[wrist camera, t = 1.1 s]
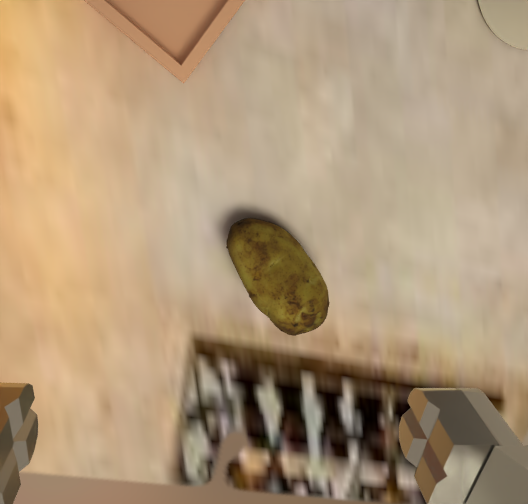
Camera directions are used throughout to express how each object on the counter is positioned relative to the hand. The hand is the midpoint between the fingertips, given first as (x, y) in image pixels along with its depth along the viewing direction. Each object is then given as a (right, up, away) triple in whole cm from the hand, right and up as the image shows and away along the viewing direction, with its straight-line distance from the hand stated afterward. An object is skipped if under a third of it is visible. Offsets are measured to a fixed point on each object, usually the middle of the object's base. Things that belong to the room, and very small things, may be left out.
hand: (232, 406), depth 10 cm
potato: (+2, +3, +40) cm, 40 cm away
